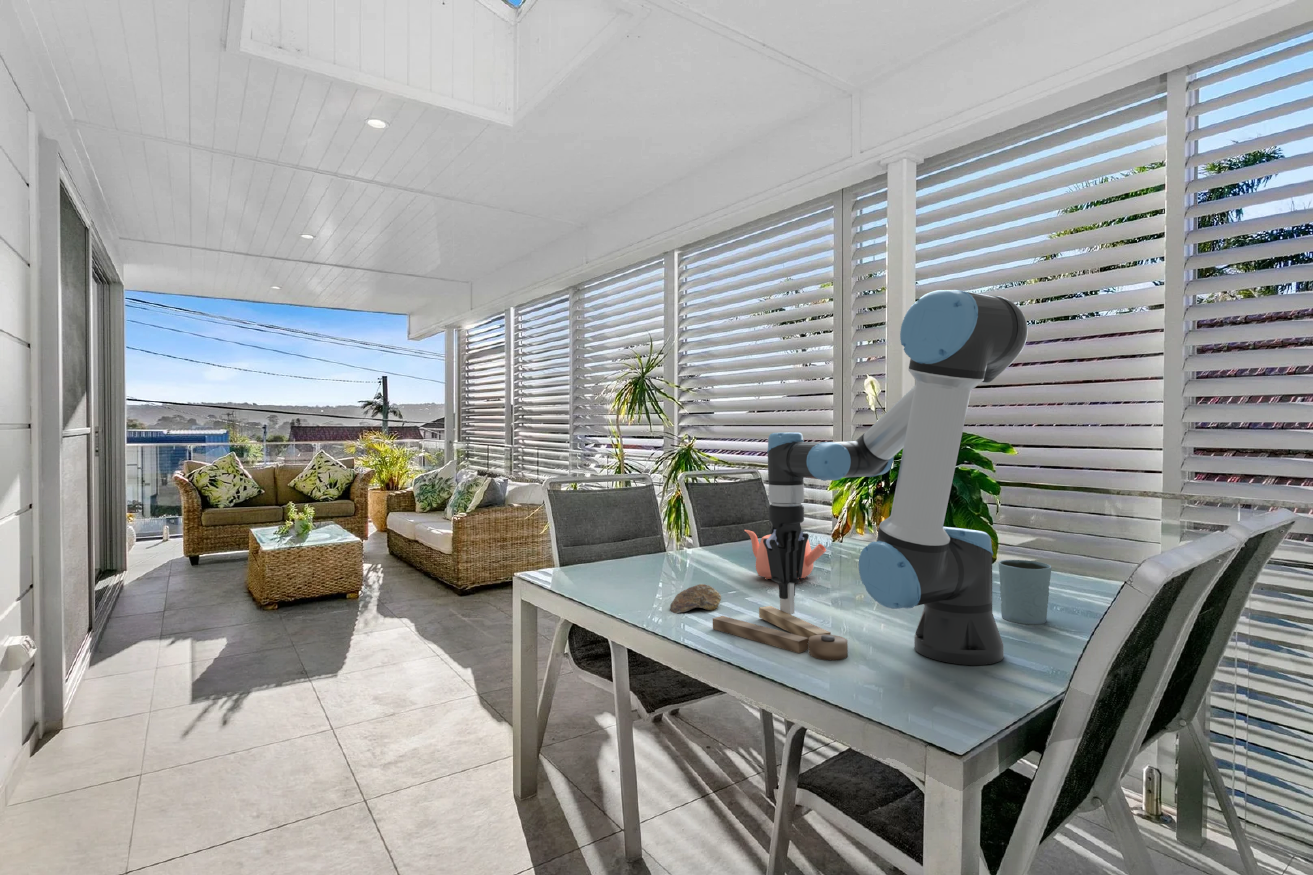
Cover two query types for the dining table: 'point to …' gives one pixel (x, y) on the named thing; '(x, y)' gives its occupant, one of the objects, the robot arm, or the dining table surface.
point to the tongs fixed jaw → (786, 639)
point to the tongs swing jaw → (790, 622)
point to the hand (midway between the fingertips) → (787, 612)
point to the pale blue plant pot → (1024, 591)
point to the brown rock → (696, 599)
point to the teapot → (763, 562)
